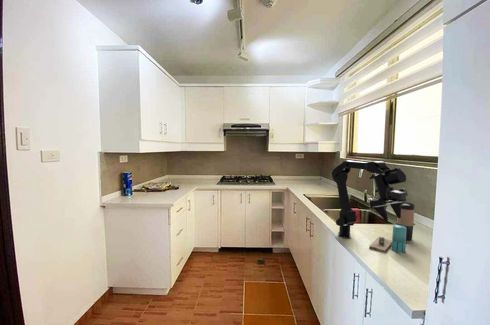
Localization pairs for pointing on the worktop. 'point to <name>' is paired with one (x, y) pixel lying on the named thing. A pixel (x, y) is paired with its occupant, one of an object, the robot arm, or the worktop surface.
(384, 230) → the worktop surface
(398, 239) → the teal cap
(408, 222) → the travel mug
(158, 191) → the worktop surface
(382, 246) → the brown block with knob
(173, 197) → the worktop surface
